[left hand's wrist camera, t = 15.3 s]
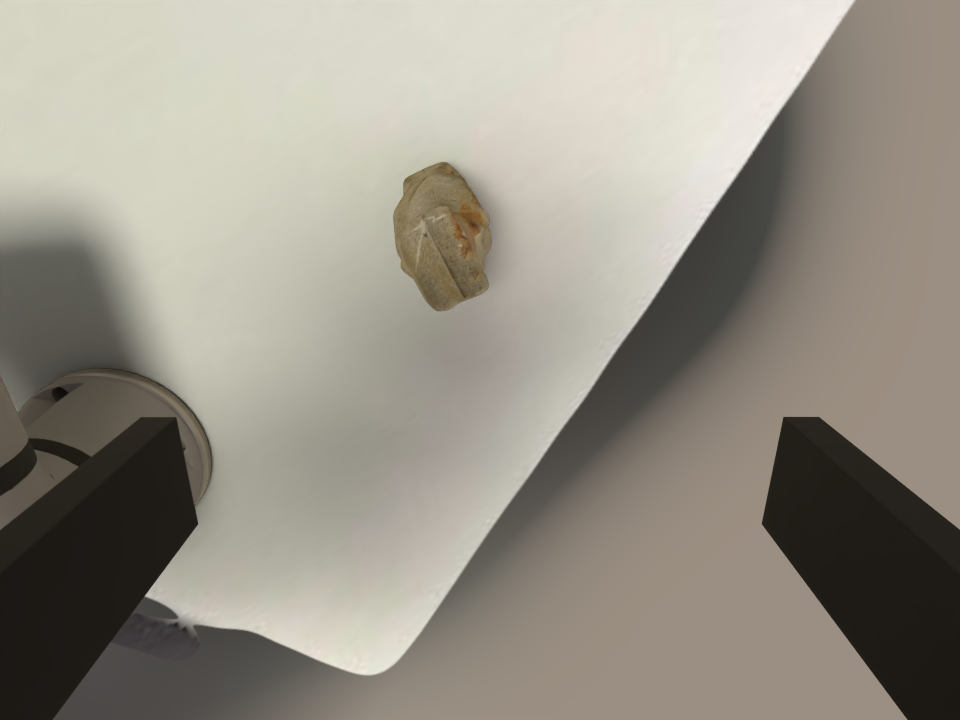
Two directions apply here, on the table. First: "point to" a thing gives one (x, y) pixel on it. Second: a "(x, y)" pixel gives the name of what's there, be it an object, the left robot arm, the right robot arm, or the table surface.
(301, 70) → the table surface
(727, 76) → the table surface
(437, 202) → the sculpture
